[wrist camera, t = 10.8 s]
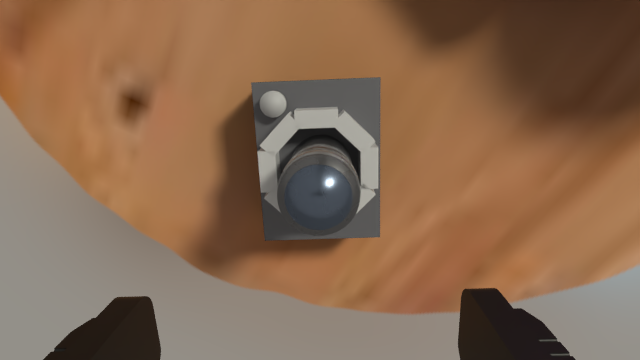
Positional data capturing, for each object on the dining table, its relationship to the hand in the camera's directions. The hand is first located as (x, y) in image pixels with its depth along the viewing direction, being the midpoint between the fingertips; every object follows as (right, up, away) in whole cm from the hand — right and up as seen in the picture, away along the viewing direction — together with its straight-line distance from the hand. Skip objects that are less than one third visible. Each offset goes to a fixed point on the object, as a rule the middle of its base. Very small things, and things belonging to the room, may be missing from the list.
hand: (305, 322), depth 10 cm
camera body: (0, +6, +23) cm, 23 cm away
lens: (0, +5, +18) cm, 18 cm away
